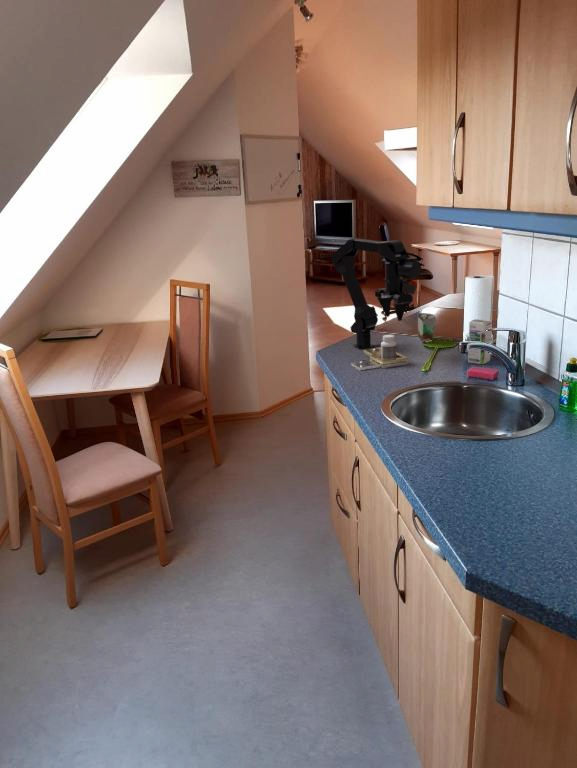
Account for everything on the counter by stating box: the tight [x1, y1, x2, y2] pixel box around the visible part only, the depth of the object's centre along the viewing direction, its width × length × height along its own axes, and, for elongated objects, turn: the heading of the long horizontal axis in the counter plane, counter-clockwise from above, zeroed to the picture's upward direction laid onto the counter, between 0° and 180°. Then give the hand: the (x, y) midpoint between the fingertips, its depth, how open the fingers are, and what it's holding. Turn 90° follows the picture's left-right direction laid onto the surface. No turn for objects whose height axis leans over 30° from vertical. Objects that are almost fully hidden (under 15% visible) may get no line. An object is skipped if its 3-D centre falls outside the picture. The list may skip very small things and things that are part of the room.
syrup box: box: [467, 318, 493, 365], centre depth 209 cm, size 6×6×14 cm
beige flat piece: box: [350, 346, 409, 371], centre depth 219 cm, size 18×18×3 cm
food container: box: [416, 312, 437, 345], centre depth 241 cm, size 12×6×10 cm, turn 179°
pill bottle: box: [380, 334, 397, 360], centre depth 215 cm, size 5×5×10 cm
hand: (393, 318), depth 225 cm, fingers open, 9 cm apart
